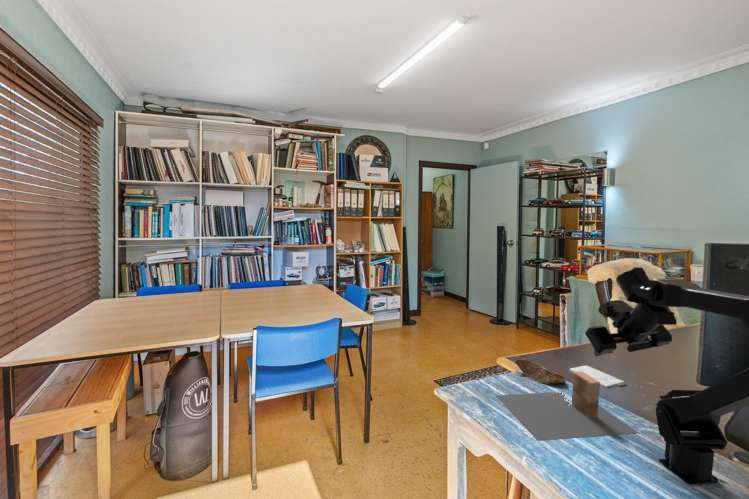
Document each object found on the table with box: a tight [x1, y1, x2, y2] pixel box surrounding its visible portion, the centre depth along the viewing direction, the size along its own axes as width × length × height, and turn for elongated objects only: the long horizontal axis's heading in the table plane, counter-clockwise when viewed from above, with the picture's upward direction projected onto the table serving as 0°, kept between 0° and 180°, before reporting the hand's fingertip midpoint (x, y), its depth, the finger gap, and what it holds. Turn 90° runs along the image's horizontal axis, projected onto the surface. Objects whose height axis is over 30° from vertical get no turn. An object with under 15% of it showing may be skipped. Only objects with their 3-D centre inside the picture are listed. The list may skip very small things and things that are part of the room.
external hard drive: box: [568, 365, 626, 388], centre depth 110 cm, size 2×8×12 cm
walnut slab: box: [572, 372, 601, 418], centre depth 90 cm, size 6×2×9 cm, turn 7°
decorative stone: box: [515, 358, 567, 385], centre depth 110 cm, size 10×4×15 cm
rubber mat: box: [494, 391, 639, 442], centre depth 90 cm, size 20×25×1 cm
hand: (612, 352), depth 92 cm, fingers open, 9 cm apart
